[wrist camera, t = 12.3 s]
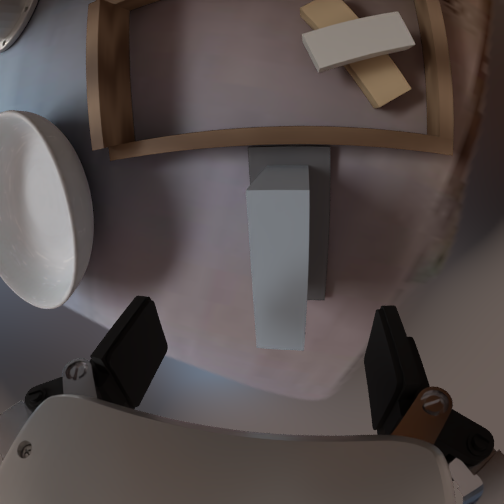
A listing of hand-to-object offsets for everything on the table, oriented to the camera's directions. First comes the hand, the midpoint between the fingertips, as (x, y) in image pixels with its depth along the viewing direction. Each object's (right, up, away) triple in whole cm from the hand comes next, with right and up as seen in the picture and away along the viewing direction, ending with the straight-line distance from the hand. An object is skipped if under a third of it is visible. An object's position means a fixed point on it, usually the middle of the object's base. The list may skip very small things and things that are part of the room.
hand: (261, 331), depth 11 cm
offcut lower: (+7, +18, +5) cm, 20 cm away
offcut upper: (+7, +17, +3) cm, 19 cm away
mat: (+3, +5, +12) cm, 13 cm away
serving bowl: (-23, +10, +15) cm, 29 cm away
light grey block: (+3, +5, +11) cm, 12 cm away
